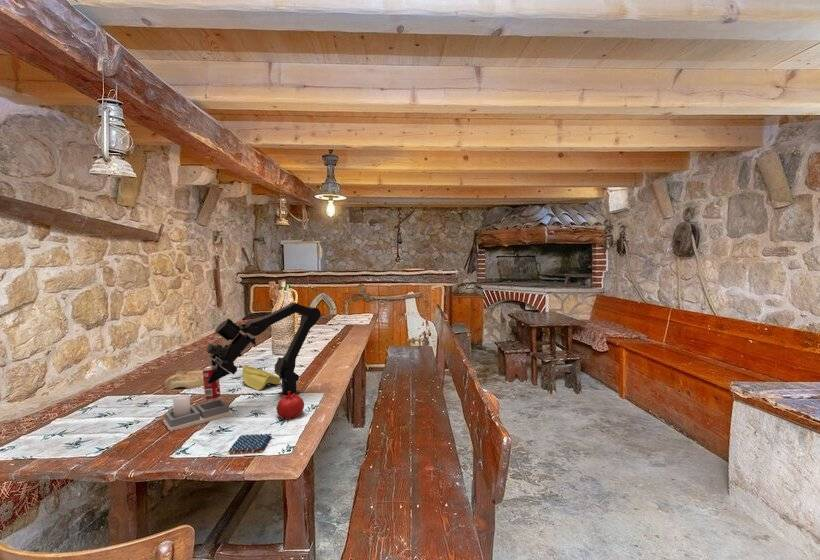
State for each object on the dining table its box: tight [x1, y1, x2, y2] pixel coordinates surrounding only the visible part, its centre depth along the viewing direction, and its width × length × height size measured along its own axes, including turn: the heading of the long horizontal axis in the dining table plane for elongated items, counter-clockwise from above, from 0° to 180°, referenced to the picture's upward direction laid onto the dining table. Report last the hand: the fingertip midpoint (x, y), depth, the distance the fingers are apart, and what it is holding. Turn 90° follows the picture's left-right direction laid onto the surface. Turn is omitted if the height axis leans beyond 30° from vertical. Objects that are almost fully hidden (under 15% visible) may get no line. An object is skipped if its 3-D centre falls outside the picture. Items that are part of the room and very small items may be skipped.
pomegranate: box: [276, 391, 305, 420], centre depth 147 cm, size 10×10×9 cm
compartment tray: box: [163, 394, 232, 432], centre depth 144 cm, size 20×10×9 cm, turn 133°
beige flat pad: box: [163, 369, 204, 390], centre depth 187 cm, size 24×24×5 cm
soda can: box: [203, 365, 221, 402], centre depth 149 cm, size 5×5×12 cm
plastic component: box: [241, 365, 282, 391], centre depth 184 cm, size 20×7×10 cm
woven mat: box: [228, 433, 273, 455], centre depth 124 cm, size 10×11×2 cm
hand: (207, 381), depth 149 cm, fingers closed on soda can, 5 cm apart
